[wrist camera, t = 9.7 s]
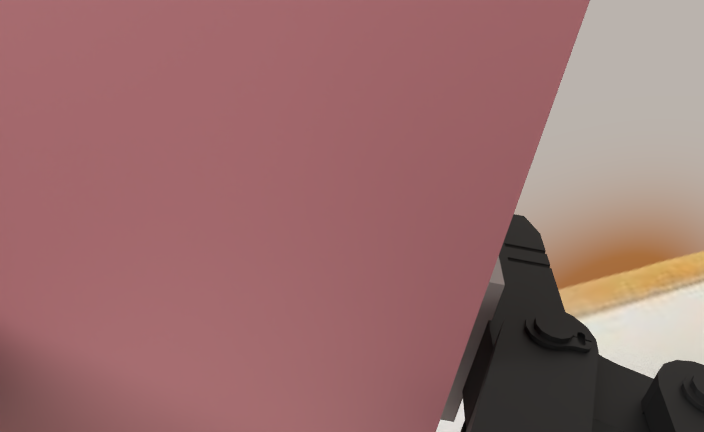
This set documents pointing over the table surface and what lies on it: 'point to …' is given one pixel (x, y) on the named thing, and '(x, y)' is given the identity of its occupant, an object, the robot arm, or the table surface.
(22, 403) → the pink rectangular block
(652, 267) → the table surface
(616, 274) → the table surface
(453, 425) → the table surface
